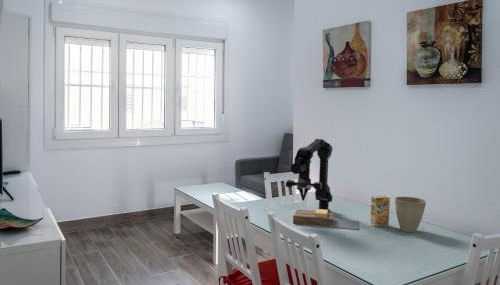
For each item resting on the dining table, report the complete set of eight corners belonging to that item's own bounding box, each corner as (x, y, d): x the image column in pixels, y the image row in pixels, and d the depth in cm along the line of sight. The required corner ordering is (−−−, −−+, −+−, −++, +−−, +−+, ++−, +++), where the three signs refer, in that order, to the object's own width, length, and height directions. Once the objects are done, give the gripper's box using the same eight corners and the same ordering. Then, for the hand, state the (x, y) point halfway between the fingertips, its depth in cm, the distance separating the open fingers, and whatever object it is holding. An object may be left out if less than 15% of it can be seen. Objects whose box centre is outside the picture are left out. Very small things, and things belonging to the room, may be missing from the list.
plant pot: (424, 236, 207) (426, 204, 206) (392, 232, 213) (394, 201, 211) (423, 228, 221) (425, 198, 220) (393, 224, 226) (395, 195, 225)
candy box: (374, 226, 221) (375, 197, 220) (369, 224, 225) (371, 196, 224) (388, 225, 224) (390, 197, 223) (384, 223, 228) (385, 195, 227)
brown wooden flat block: (296, 216, 238) (297, 209, 237) (333, 220, 233) (333, 212, 232) (293, 223, 224) (293, 215, 224) (331, 227, 219) (331, 219, 219)
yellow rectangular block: (316, 212, 232) (316, 208, 232) (327, 213, 231) (327, 209, 230) (314, 216, 223) (314, 212, 223) (326, 217, 222) (326, 213, 222)
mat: (334, 219, 233) (334, 218, 233) (358, 221, 230) (358, 221, 230) (332, 227, 218) (332, 226, 218) (358, 230, 215) (358, 229, 215)
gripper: (284, 172, 222) (283, 202, 224) (320, 175, 217) (319, 205, 219) (288, 169, 233) (287, 197, 234) (322, 172, 228) (321, 200, 230)
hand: (303, 200), depth 229 cm, fingers closed
